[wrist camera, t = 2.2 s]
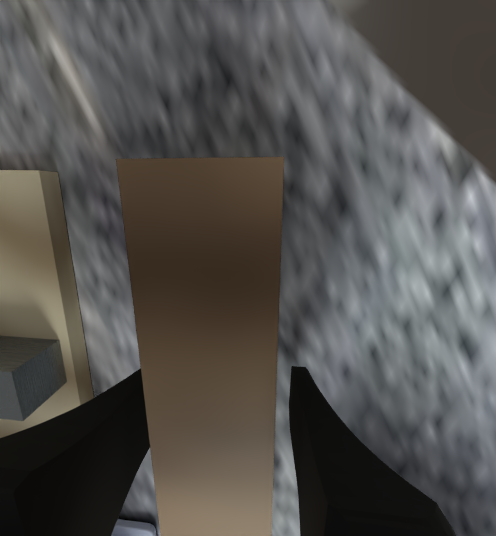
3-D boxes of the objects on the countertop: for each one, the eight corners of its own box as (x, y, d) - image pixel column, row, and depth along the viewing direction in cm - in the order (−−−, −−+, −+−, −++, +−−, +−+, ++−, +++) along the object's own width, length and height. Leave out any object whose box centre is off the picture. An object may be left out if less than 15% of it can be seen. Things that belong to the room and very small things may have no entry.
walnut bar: (270, 493, 16) (267, 638, 11) (204, 485, 16) (171, 623, 11) (280, 174, 11) (284, 157, 6) (188, 174, 12) (115, 158, 6)
